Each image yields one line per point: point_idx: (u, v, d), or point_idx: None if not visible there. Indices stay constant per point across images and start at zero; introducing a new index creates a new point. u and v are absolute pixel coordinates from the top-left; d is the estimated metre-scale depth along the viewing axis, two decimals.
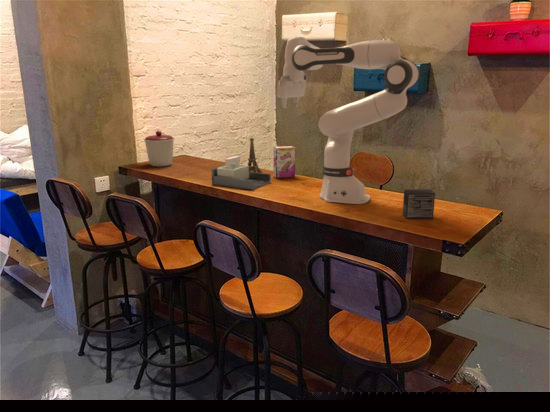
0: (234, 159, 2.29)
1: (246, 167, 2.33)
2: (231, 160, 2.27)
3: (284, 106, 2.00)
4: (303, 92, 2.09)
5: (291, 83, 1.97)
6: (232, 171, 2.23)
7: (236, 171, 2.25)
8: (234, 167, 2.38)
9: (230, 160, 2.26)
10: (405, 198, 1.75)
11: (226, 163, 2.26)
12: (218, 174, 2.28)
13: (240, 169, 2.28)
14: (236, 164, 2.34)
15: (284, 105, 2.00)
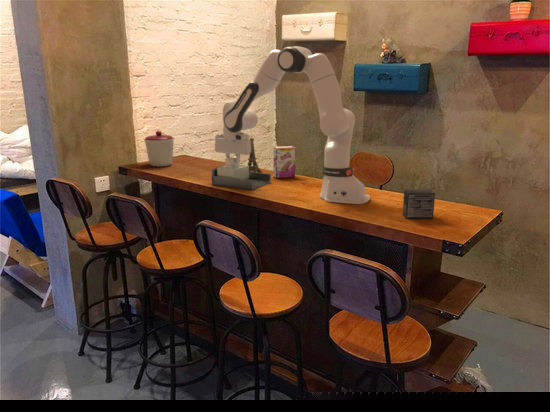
0: None
1: (246, 167, 2.33)
2: (231, 160, 2.27)
3: None
4: (244, 151, 2.23)
5: (223, 141, 2.28)
6: (232, 171, 2.23)
7: (236, 171, 2.25)
8: (234, 167, 2.38)
9: (230, 160, 2.26)
10: (405, 198, 1.75)
11: (226, 163, 2.26)
12: (218, 174, 2.28)
13: (240, 169, 2.28)
14: (236, 164, 2.34)
15: None
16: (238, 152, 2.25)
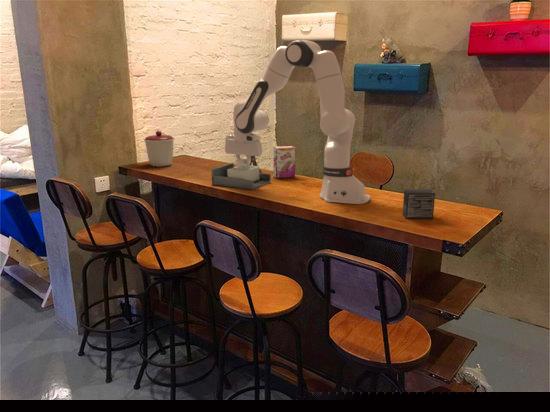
0: None
1: (257, 168, 2.30)
2: (242, 161, 2.24)
3: None
4: (255, 152, 2.20)
5: (234, 142, 2.25)
6: (243, 172, 2.20)
7: (247, 172, 2.22)
8: (244, 168, 2.35)
9: (241, 161, 2.23)
10: (405, 198, 1.75)
11: (237, 164, 2.23)
12: (228, 175, 2.25)
13: (251, 170, 2.25)
14: (246, 165, 2.31)
15: None
16: (249, 153, 2.22)
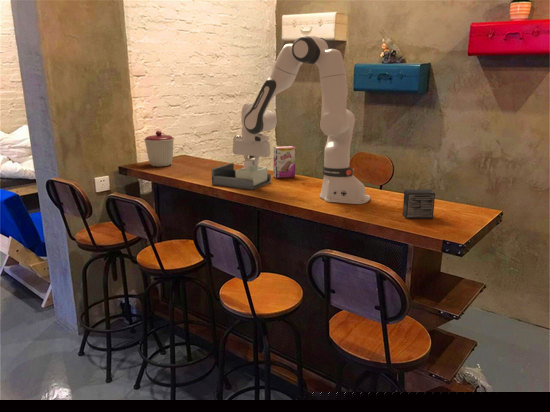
0: None
1: (265, 169, 2.28)
2: (250, 162, 2.22)
3: None
4: (263, 153, 2.18)
5: (242, 142, 2.22)
6: (251, 173, 2.18)
7: (255, 173, 2.20)
8: (252, 169, 2.33)
9: (249, 162, 2.21)
10: (405, 198, 1.75)
11: (245, 165, 2.21)
12: (236, 176, 2.23)
13: (259, 171, 2.23)
14: (254, 166, 2.29)
15: None
16: (257, 154, 2.20)
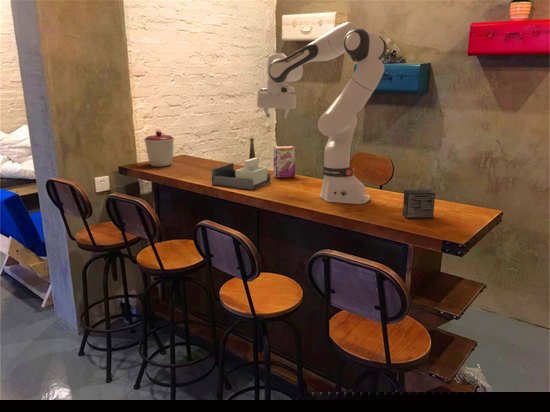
0: (253, 161, 2.24)
1: (265, 169, 2.28)
2: (250, 162, 2.22)
3: None
4: (290, 104, 2.14)
5: (267, 95, 2.18)
6: (251, 173, 2.18)
7: (255, 173, 2.20)
8: (252, 169, 2.33)
9: (249, 162, 2.21)
10: (405, 198, 1.75)
11: (245, 165, 2.21)
12: (236, 176, 2.23)
13: (259, 171, 2.23)
14: (254, 166, 2.29)
15: None
16: (283, 106, 2.16)
